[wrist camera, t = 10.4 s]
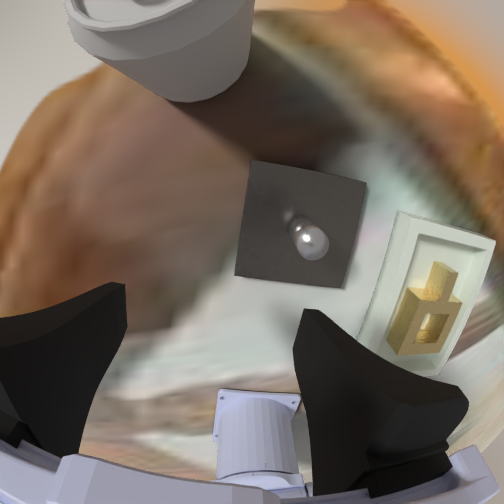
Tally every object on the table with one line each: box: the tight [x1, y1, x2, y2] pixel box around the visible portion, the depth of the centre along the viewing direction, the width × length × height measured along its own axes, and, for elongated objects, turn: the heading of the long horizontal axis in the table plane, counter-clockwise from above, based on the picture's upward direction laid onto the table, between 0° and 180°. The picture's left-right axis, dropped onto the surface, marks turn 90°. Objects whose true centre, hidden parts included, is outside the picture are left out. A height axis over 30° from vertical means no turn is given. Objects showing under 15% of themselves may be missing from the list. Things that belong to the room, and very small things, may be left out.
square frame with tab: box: [386, 261, 463, 355], centre depth 21 cm, size 8×5×2 cm
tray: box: [357, 211, 496, 377], centre depth 22 cm, size 15×11×2 cm
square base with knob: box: [234, 160, 367, 288], centre depth 18 cm, size 8×8×4 cm
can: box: [63, 0, 255, 103], centre depth 10 cm, size 8×8×12 cm
